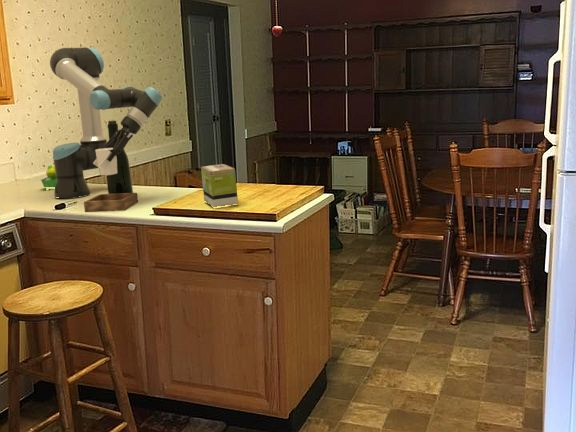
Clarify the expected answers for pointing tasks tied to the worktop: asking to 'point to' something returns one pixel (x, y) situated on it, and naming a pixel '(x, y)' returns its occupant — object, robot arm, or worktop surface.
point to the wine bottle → (119, 169)
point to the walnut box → (111, 202)
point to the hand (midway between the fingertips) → (99, 166)
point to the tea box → (219, 185)
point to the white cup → (100, 157)
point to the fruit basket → (50, 177)
